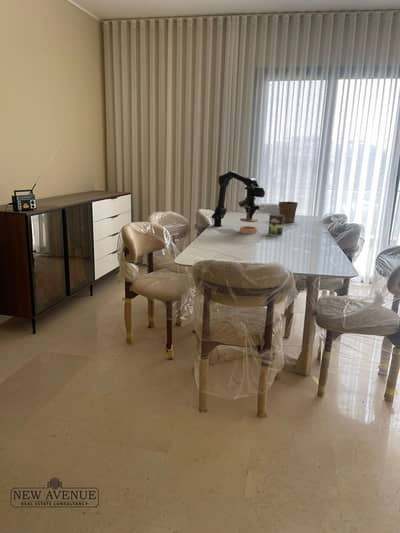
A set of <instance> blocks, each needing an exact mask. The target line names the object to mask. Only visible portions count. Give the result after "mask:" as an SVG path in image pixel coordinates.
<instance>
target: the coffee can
mask: <svg viewBox="0 0 400 533" xmlns="http://www.w3.org/2000/svg"><path fill="white" fill-rule="evenodd" d="M268 219H269V220H268V230H267V231H268V233H267V235H268V236H272V237H274V236H275V237H282V236H283V230H284V222H283V221H284V215H281V214H280V213H270V214H269V218H268Z"/></svg>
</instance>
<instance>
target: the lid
mask: <svg viewBox="0 0 400 533" xmlns="http://www.w3.org/2000/svg"><path fill="white" fill-rule="evenodd" d="M239 220H240V221H241V222H244V223H257V222H259V219H258V218H256V217H255V218H254V217H252V218H250V217H249V212H247V213H246V217H241V218H240V219H239Z"/></svg>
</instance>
